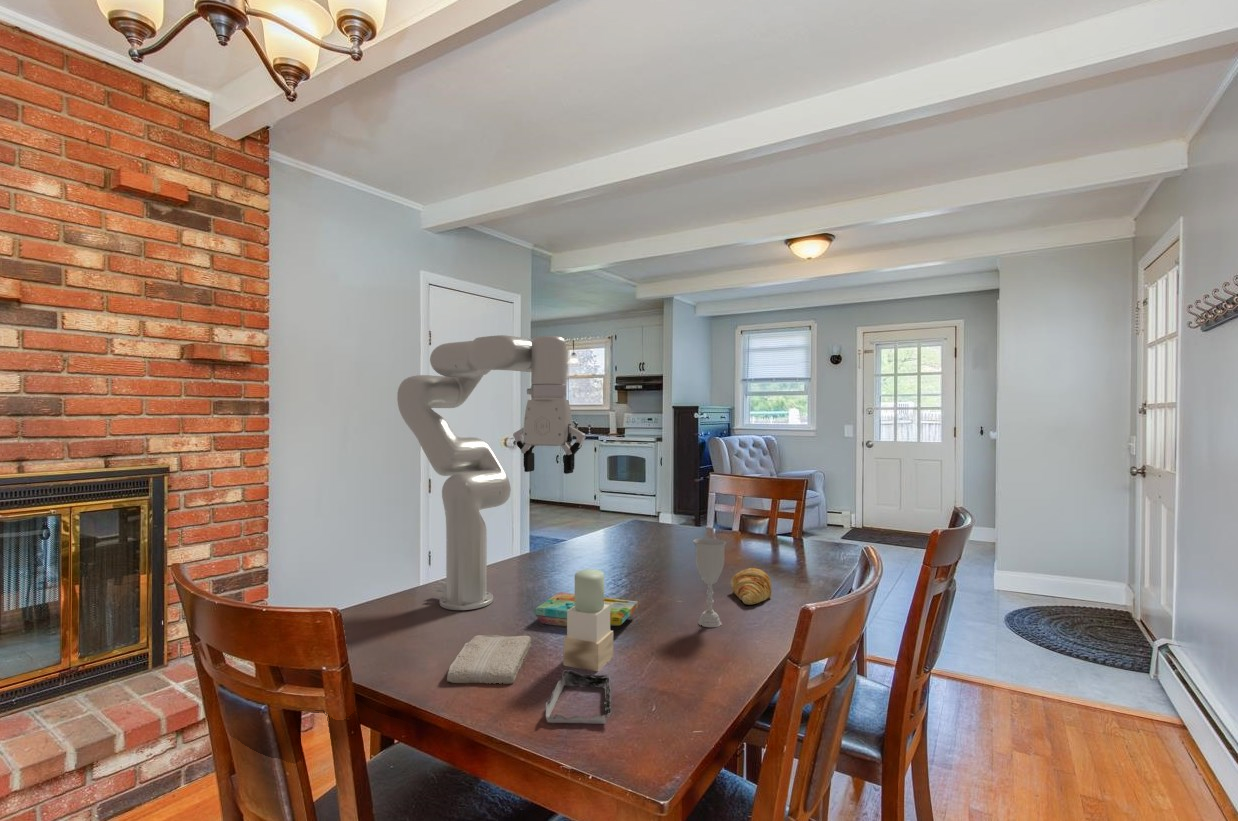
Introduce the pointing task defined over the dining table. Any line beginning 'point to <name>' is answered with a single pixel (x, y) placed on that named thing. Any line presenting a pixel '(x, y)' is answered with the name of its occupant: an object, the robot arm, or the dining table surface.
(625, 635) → the dining table surface
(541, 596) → the dining table surface
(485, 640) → the washcloth
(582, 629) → the cream middle block
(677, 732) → the dining table surface
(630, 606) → the puzzle game
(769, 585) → the croissant
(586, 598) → the sage round block
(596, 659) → the oak base block
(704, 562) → the chalice
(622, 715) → the dining table surface
